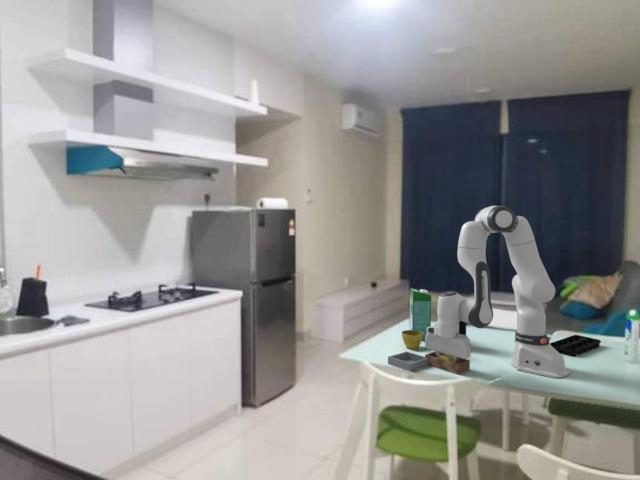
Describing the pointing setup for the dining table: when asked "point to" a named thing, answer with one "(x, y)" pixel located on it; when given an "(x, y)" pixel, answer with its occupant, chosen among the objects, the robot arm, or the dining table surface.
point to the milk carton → (420, 310)
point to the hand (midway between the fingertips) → (446, 364)
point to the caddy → (448, 364)
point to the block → (447, 357)
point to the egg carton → (575, 345)
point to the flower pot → (412, 338)
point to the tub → (408, 361)
